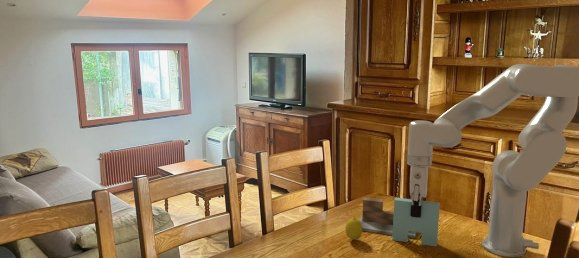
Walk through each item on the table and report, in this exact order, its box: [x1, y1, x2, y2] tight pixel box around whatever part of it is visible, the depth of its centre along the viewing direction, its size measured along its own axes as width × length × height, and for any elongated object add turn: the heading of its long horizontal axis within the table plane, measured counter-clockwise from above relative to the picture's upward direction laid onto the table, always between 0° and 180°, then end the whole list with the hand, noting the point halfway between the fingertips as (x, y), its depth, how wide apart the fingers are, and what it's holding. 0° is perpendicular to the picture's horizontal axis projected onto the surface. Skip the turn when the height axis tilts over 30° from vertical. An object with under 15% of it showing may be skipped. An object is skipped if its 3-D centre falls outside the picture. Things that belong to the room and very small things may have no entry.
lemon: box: [345, 217, 363, 241], centre depth 142 cm, size 6×6×8 cm
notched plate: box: [392, 197, 441, 247], centre depth 141 cm, size 14×2×14 cm, turn 70°
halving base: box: [358, 197, 417, 239], centre depth 154 cm, size 20×15×9 cm
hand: (416, 213), depth 140 cm, fingers open, 4 cm apart
